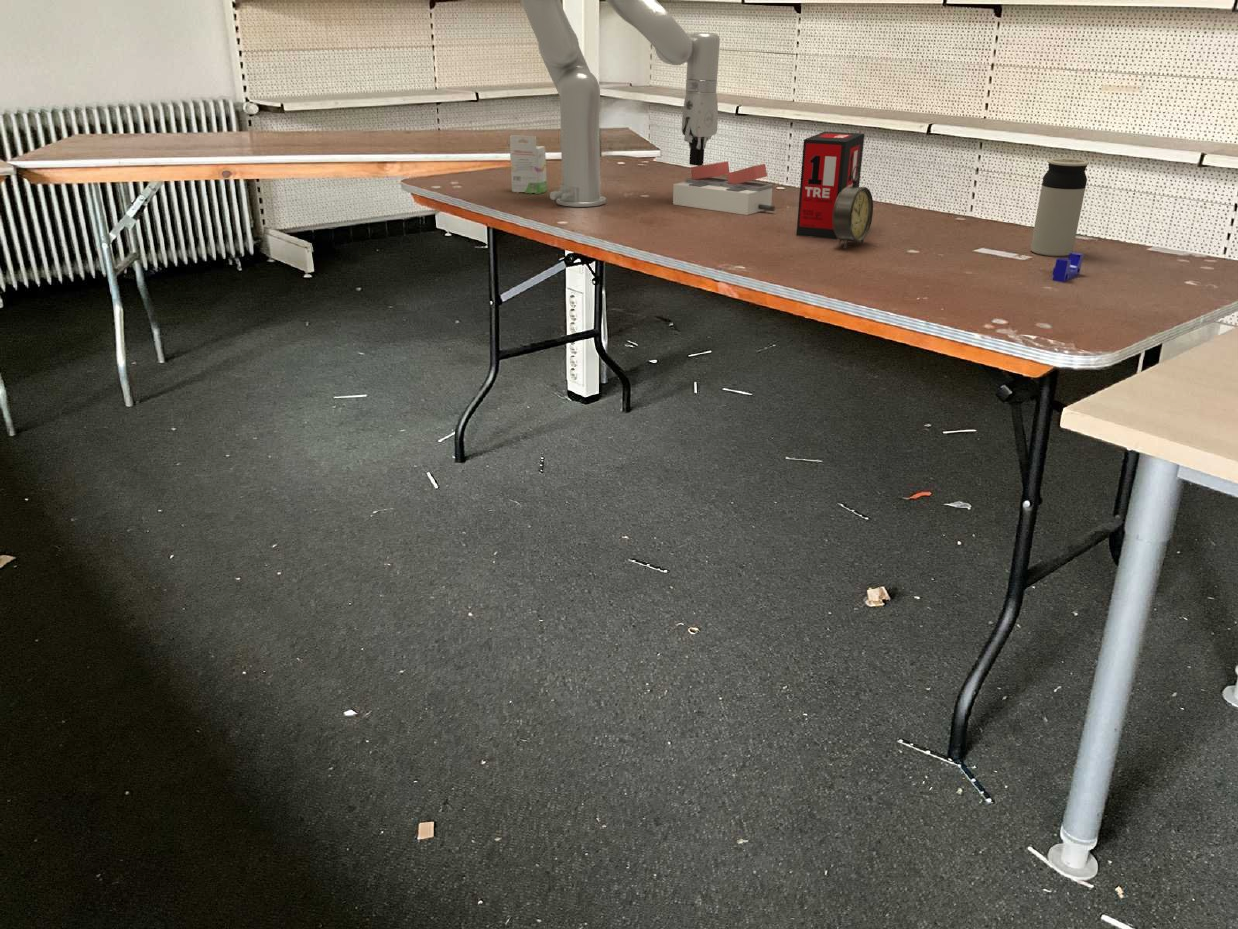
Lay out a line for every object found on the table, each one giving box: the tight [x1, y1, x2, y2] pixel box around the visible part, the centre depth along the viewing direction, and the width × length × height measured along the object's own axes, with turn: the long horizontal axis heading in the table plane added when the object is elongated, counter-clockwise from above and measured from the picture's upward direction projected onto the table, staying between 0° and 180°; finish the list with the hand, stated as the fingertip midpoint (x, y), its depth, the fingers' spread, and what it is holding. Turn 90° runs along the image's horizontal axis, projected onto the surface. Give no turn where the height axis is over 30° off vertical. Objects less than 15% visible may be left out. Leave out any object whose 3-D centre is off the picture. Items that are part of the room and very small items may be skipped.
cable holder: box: [1051, 251, 1084, 283], centre depth 179 cm, size 8×4×4 cm, turn 137°
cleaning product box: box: [795, 131, 866, 240], centre depth 213 cm, size 16×9×20 cm, turn 154°
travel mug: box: [1029, 157, 1090, 258], centre depth 194 cm, size 8×8×18 cm
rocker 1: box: [690, 161, 730, 180], centre depth 244 cm, size 5×8×3 cm, turn 51°
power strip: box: [672, 177, 776, 216], centre depth 241 cm, size 11×26×6 cm, turn 51°
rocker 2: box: [726, 163, 768, 185], centre depth 238 cm, size 5×8×3 cm, turn 51°
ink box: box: [509, 134, 548, 195], centre depth 259 cm, size 9×5×15 cm, turn 65°
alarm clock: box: [833, 165, 874, 251], centre depth 200 cm, size 11×5×16 cm, turn 143°
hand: (696, 164), depth 246 cm, fingers closed
